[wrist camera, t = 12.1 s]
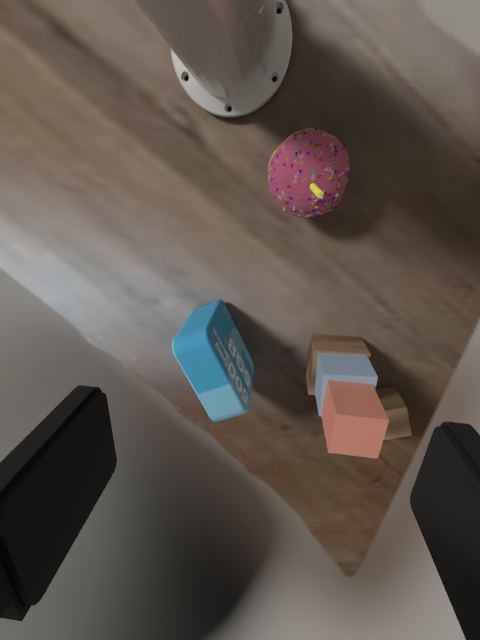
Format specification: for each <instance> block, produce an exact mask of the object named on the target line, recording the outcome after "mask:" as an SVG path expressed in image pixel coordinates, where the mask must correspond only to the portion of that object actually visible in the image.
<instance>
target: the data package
mask: <svg viewBox="0 0 480 640" xmlns="http://www.w3.org/2000/svg"><path fill="white" fill-rule="evenodd" d="M172 349H173V353H174V356H175V358H176V359H177V361H178V363H179V365H180V366H181V368H182V370H183V372H184V373H185V375H186V377H187V379H188V380H189V382H190V384H191V386H192V387H193V389H194V391H195V392H196V394H197V396H198V398H199V399H200V401H201V403H202V405H203V406H204V408H205V410H206V412H207V413H208V415H209V417H210V418H211V419H212V420H213V421H214V422H218V421H221V420H224V419H228V418H231V417H235V416H238V415H242V414H245V413H248V411H249V408H250V400H251V392H252V384H253V376H254V364H253V361H252V358H251V356H250V354H249V352H248V350H247V348H246V346H245V344H244V341H243V339H242V337H241V335H240V333H239V331H238V329H237V327H236V325H235V323H234V321H233V319H232V317H231V314H230V312H229V310H228V308H227V306H226V305H225V303H224V302H223V301H222V300H219V301H216V302H214V303H211V304H208V305H206V306H203V307H201V308H198V309H196V310H194V311H192V313H191V314H190V316H189V317H188V319H187V320H186V322H185V323H184V325H183V326H182V328H181V329H180V331H179V332H178V334H177V335H176V336H175V338H174V339H173V342H172Z"/></svg>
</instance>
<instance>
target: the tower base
mask: <svg viewBox="0 0 480 640" xmlns="http://www.w3.org/2000/svg"><path fill="white" fill-rule="evenodd" d="M318 353H330V354H356V355H367V357H368V359H369V360H370V356H371V354H370V352H369V350H368V348H367V347H366V345H365V343H364V341H363V339H362V338H361V337H349V336H336V335H323V334H311V338H310V346H309V353H308V360H307V367H306V382H307V389H308V395H315V382H316V371H317V361H318Z"/></svg>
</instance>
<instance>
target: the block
mask: <svg viewBox="0 0 480 640" xmlns="http://www.w3.org/2000/svg"><path fill="white" fill-rule="evenodd" d="M375 391H376V393H377V395H378V397H379V400H380V402H381V404H382V406H383V408H384V410H385V412H386V414H387V416H388V418H389V423H388V426H387V429H386V433H385V436H384V439H383V440H387V439H393V438H400V437H406V436H412V435H411V429H410V423H409V416H408V410H407V407H406V405H405V403H404V401H403V400H402V398H401V396H400V395H399V393H398V391H397V389H396V388H395V386H392V387H387V388H381V389H376V390H375Z"/></svg>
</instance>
